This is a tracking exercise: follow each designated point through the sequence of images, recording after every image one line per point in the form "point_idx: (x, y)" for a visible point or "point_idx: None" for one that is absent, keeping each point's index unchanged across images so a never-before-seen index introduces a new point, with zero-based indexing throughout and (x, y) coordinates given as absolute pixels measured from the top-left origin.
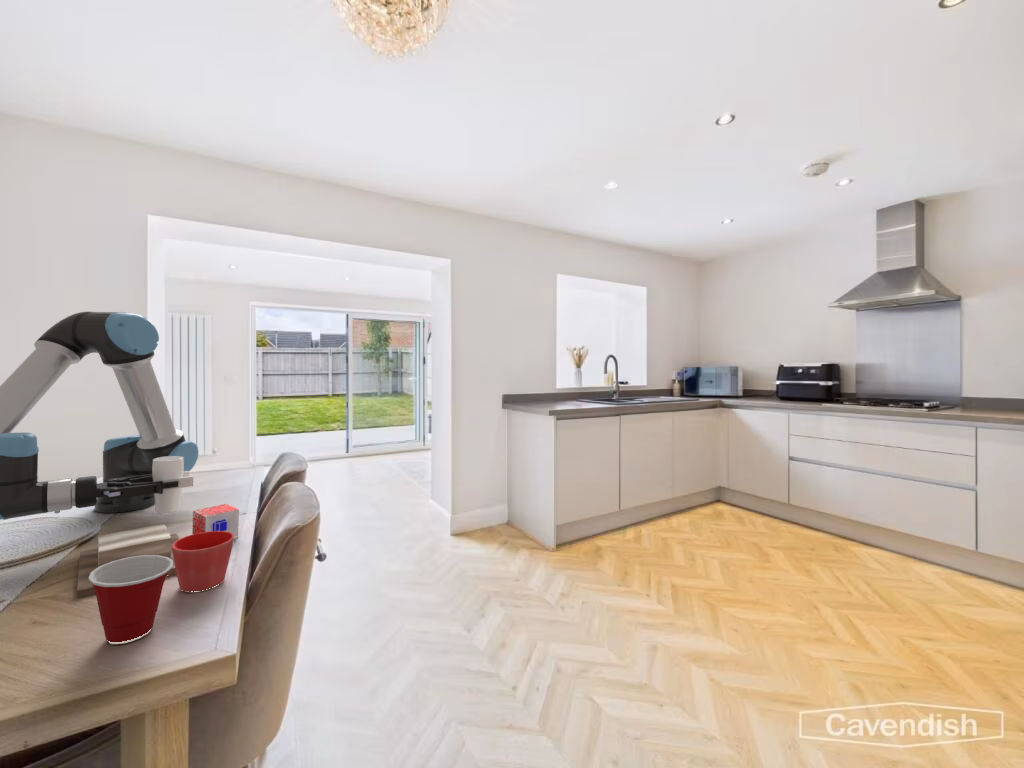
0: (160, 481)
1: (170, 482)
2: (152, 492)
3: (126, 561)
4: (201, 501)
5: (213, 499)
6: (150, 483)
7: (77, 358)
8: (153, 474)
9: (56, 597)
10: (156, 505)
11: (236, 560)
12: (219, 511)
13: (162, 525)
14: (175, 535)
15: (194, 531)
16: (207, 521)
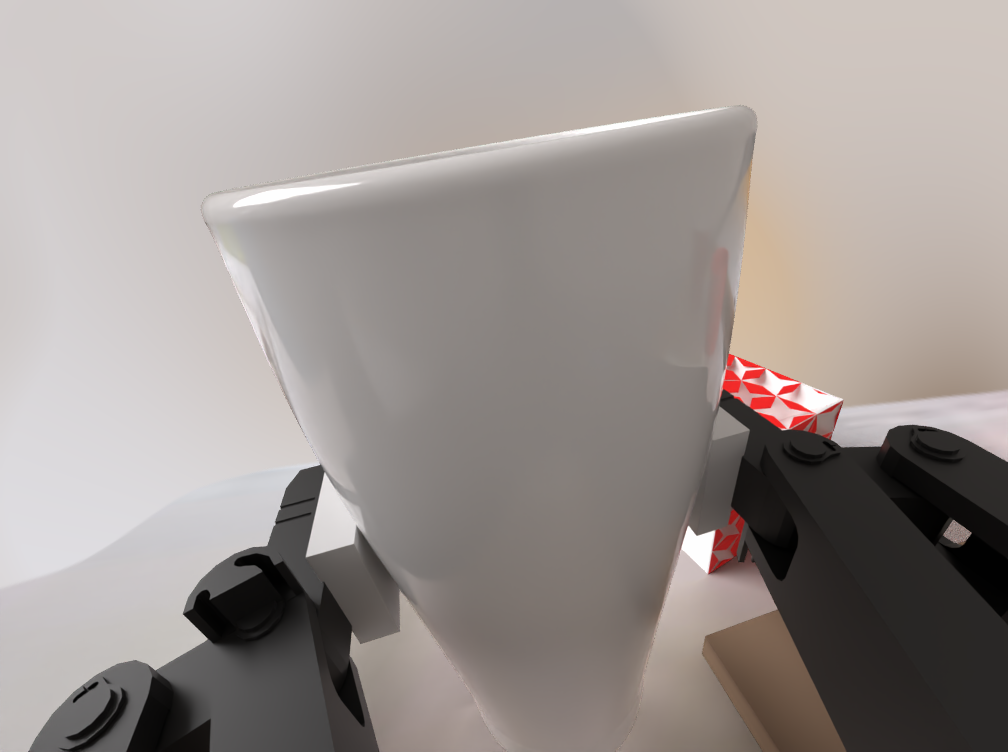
0: (818, 439)
1: (727, 404)
2: (980, 569)
3: None
4: (35, 658)
5: (73, 602)
6: (930, 552)
7: None
8: (663, 495)
9: None
10: (622, 721)
11: (926, 410)
12: (740, 381)
13: None
14: (740, 632)
15: (711, 540)
16: (817, 421)
